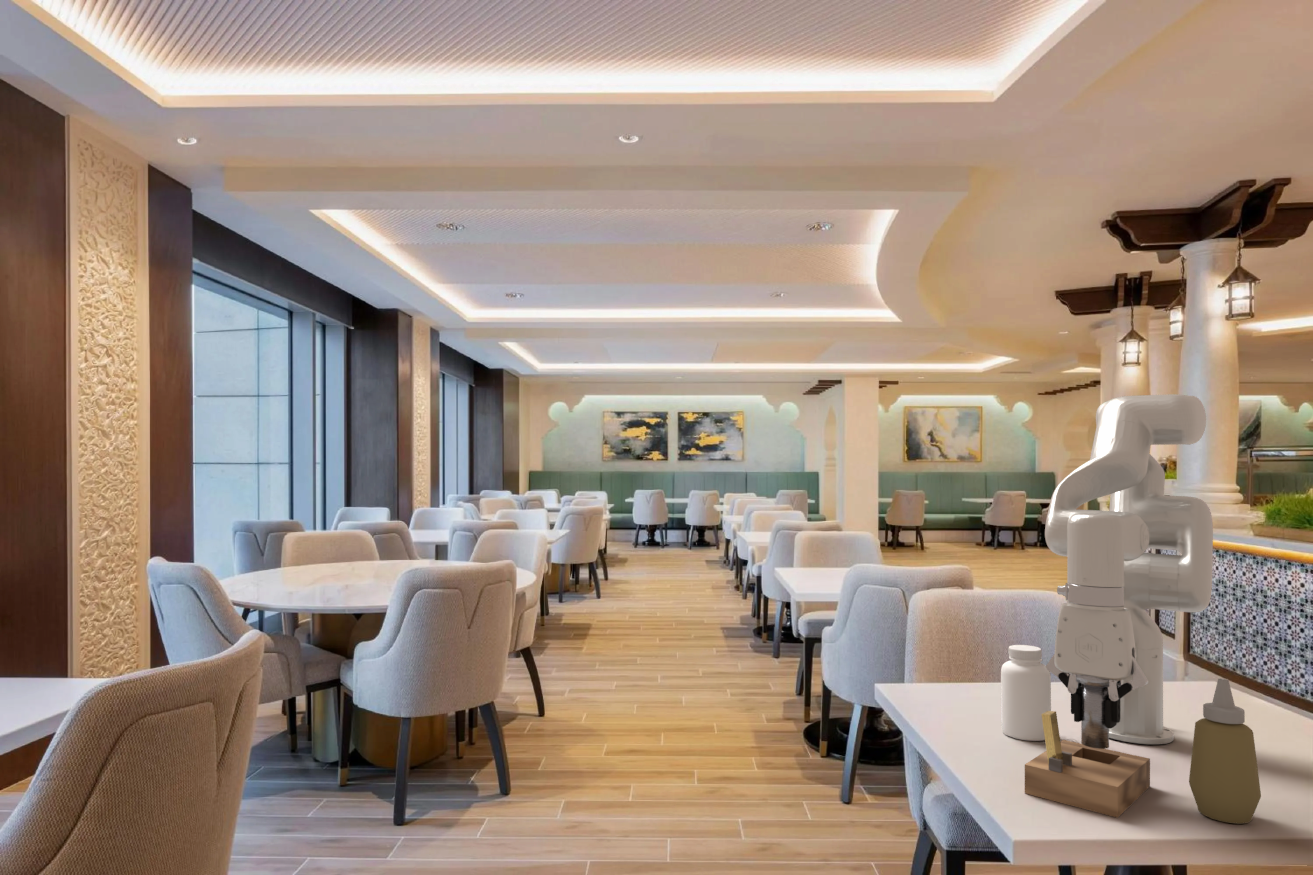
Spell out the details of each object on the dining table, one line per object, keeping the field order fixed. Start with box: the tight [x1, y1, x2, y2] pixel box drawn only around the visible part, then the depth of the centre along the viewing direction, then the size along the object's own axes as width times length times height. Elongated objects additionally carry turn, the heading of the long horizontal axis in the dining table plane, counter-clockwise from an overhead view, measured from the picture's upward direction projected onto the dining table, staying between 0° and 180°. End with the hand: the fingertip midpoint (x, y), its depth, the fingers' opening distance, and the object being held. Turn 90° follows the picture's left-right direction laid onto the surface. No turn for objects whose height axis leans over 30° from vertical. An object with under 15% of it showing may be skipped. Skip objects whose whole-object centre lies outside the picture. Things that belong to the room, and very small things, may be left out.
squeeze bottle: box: [1188, 678, 1262, 825], centre depth 115 cm, size 8×8×18 cm
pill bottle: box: [1000, 644, 1052, 742], centre depth 149 cm, size 8×8×15 cm
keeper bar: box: [1041, 710, 1063, 765], centre depth 122 cm, size 2×7×1 cm
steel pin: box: [1076, 674, 1110, 749], centre depth 126 cm, size 5×5×10 cm
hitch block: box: [1024, 739, 1151, 819], centre depth 123 cm, size 16×12×6 cm
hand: (1095, 721), depth 126 cm, fingers closed on steel pin, 3 cm apart
